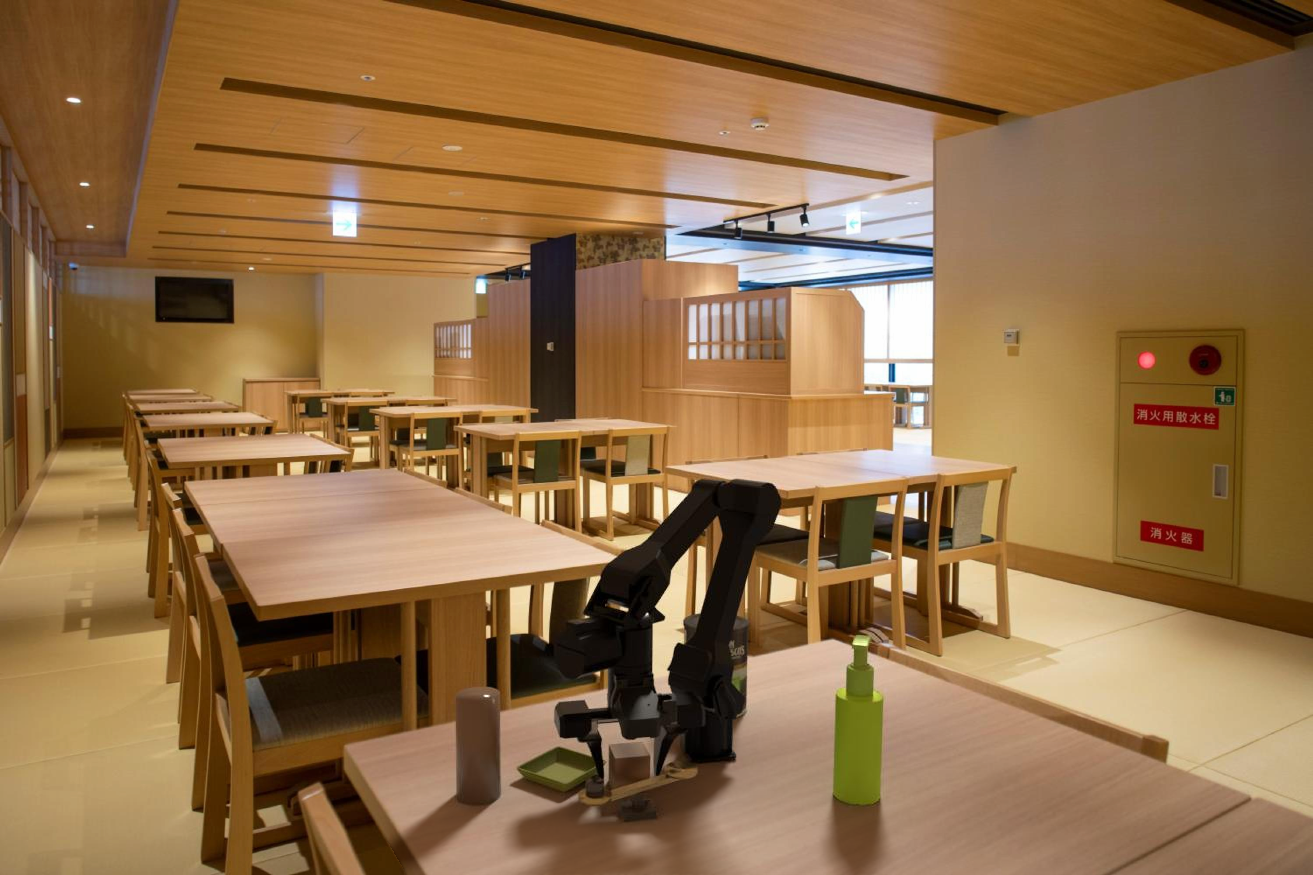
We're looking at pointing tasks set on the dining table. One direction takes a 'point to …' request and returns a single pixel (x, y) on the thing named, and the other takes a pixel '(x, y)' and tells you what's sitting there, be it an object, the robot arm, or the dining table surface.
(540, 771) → the green square dish
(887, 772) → the dining table surface
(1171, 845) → the dining table surface
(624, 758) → the block
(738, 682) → the coffee can
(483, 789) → the brown cylinder
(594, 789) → the balance
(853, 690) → the soap dispenser
